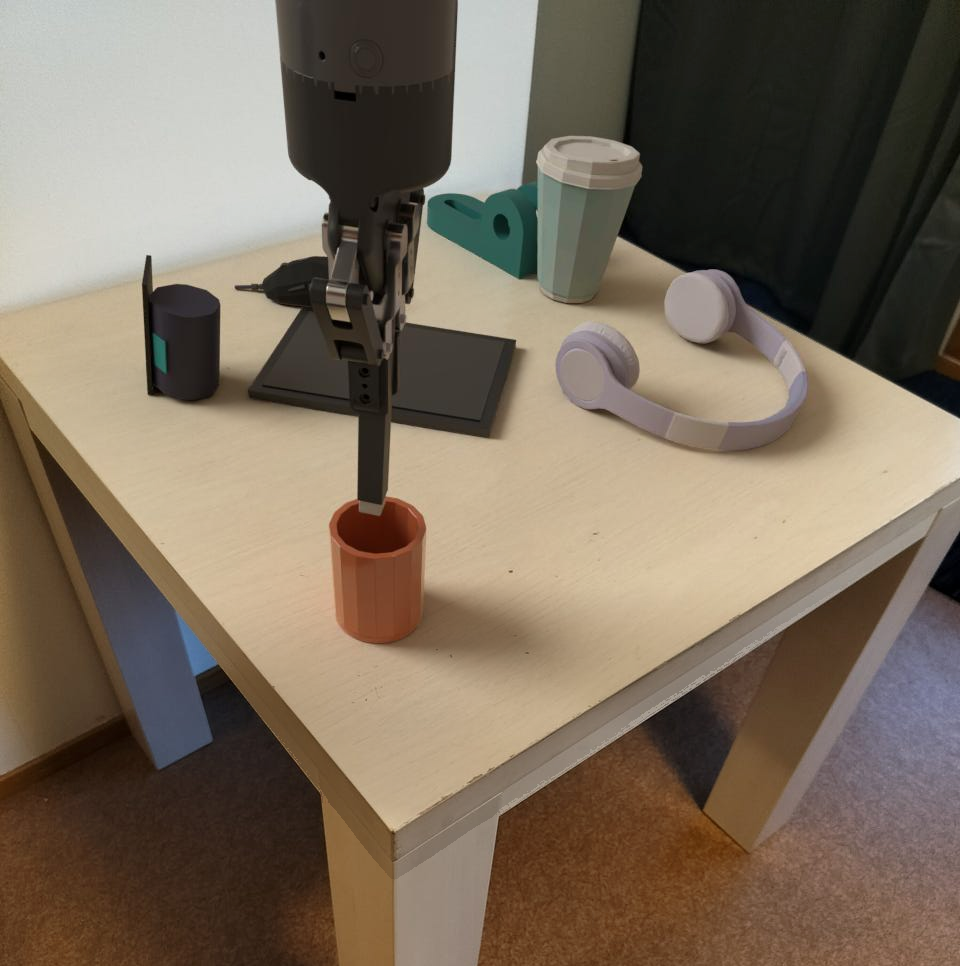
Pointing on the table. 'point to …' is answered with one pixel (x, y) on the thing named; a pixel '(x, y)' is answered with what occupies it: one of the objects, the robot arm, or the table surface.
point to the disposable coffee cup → (581, 211)
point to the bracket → (492, 226)
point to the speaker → (180, 338)
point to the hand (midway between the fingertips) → (375, 400)
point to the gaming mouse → (292, 281)
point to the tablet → (423, 376)
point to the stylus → (374, 455)
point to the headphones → (698, 318)
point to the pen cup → (378, 570)
